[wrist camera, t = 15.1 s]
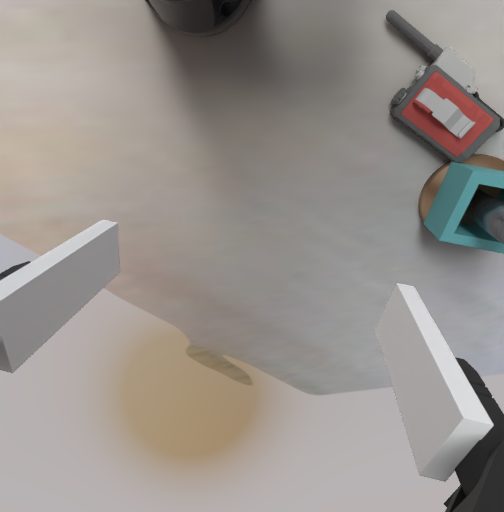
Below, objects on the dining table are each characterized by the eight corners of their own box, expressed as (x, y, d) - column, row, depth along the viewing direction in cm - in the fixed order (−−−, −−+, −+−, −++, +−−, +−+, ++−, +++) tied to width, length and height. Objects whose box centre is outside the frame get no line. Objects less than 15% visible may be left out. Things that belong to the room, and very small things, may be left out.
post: (462, 185, 42) (528, 222, 30) (489, 191, 42) (566, 229, 29) (450, 210, 44) (507, 254, 31) (476, 215, 43) (544, 262, 31)
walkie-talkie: (514, 108, 39) (391, 5, 36) (537, 110, 35) (401, -5, 32) (456, 167, 43) (341, 78, 40) (470, 174, 39) (345, 76, 36)
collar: (451, 161, 41) (473, 170, 36) (521, 174, 40) (554, 185, 35) (423, 223, 45) (438, 240, 40) (486, 236, 45) (510, 254, 39)
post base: (440, 146, 42) (445, 148, 40) (532, 163, 41) (540, 165, 40) (405, 227, 47) (408, 231, 46) (486, 244, 47) (491, 248, 45)
